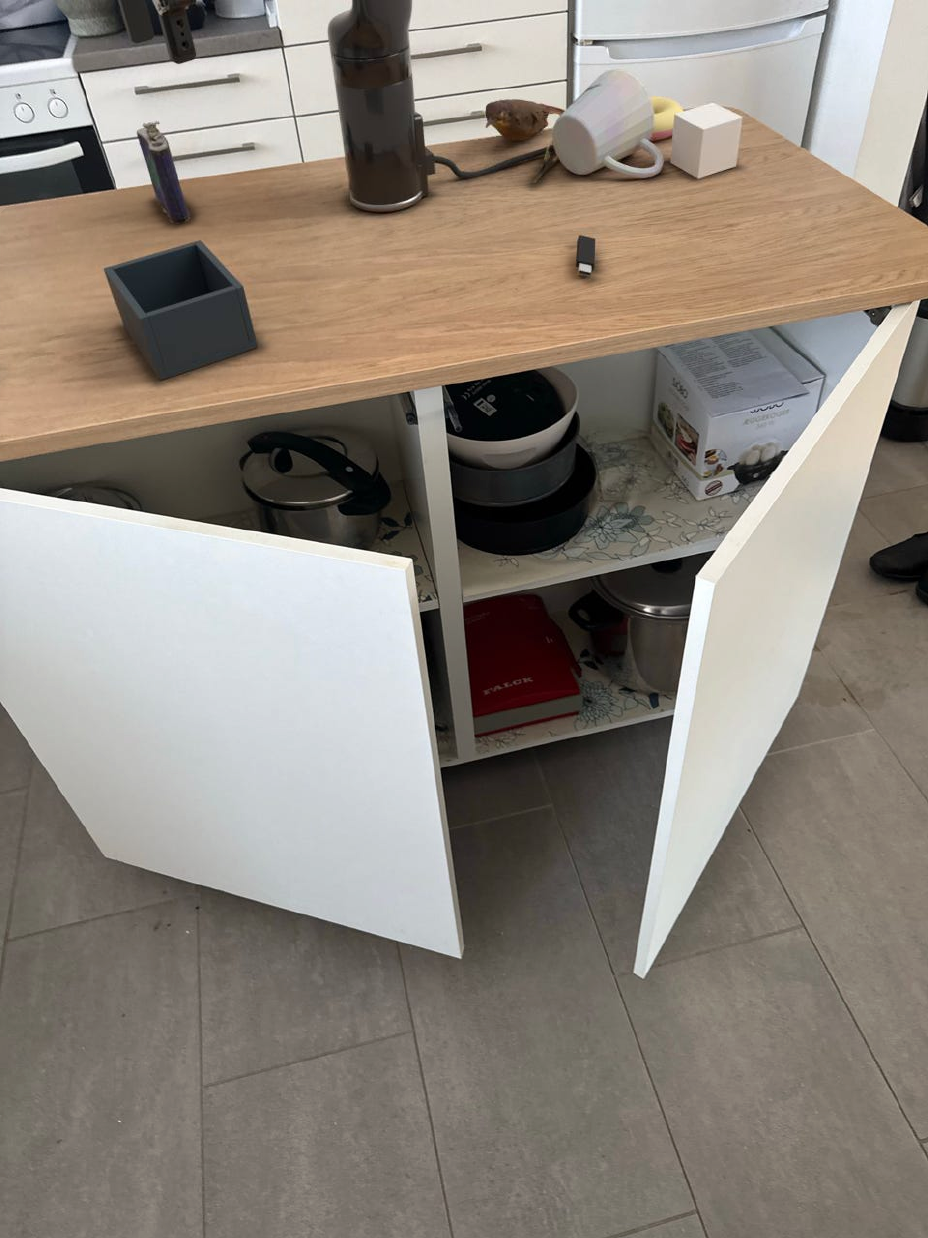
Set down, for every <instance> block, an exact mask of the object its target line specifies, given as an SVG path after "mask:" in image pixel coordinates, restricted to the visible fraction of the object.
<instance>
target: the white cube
mask: <svg viewBox="0 0 928 1238" xmlns="http://www.w3.org/2000/svg"><path fill="white" fill-rule="evenodd" d="M683 111H684V112H680V113H677V114H674V124H673V135H671V147H670V148H671V149H670V157H669V159H670V160H669V163H670V164H671V165H673V166H676V167H677V168H678V169H681V170H682V171H684V172H685V173H687V174H689V175H690V176H692V177H694V178H695V179H701V178H705V177H708V176H711V175H713V174H717V173H720V172H723V171H725V170H729V169H732V168H735V167H737V162H738V154H739V148H740V147H739V146H740V140H741V134H742V133H741V132H742V125H743V119H744V117H743V116H741V115H739V114H737V113H735V112H734V111H731V110H729V109H727V108H725V107H722V106H721V105H719V104H717V103H714V102H710V103H707V104H704V105H700V106H697V107H693V108H691V109H687V110H683Z"/></svg>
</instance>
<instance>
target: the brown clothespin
mask: <svg viewBox="0 0 928 1238" xmlns="http://www.w3.org/2000/svg"><path fill="white" fill-rule="evenodd" d="M552 145H553V141H552V140H551V141H550V142H549V143H548V146H547V147H548V148H547V151H546V154H544V159H543V162H542V166H541V168H540V170H539V172H538V174H537V175H536V177H535V179H534V181H533V184H535V183H537V182H538V181H539V180H540V178H541V177H543V176H544V175H545V174H546V173H547V171H548V170H549V169H550V168H551V166H552V165H554V164H555V163H556V162H557V161H558V160H559V158H558V156H557V155H556V156H555V157H554V158H553V159H552V160H550V161H549V159H550V158H551V152H549V151H548V149H549V147H550V146H552ZM548 161H549V163H548Z"/></svg>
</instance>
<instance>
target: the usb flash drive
mask: <svg viewBox="0 0 928 1238" xmlns="http://www.w3.org/2000/svg"><path fill="white" fill-rule="evenodd" d="M595 261H596V238H594V237H590V236H585V235H581V234H579V235H578V238H577V241H576V259H575V268H578V271H577V275H581V276H586V277H591V275H592V272H593V271H594V268H595V263H596V262H595Z"/></svg>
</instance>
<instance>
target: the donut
mask: <svg viewBox="0 0 928 1238" xmlns="http://www.w3.org/2000/svg"><path fill="white" fill-rule="evenodd" d="M649 97H650V99H651V102H652V106H653V110H654V129H653V133H652V137H651V138H650V140H649V142H653V141H660V140H664V139H668V138H669V137H672V135H673V124H674V114H677V113H680V112H684V111H685V110H684V108H683V107H682V105H681V104H680V103H679V102H677V101H676V100H674V99H672V98H668V97H664V96H649Z"/></svg>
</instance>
